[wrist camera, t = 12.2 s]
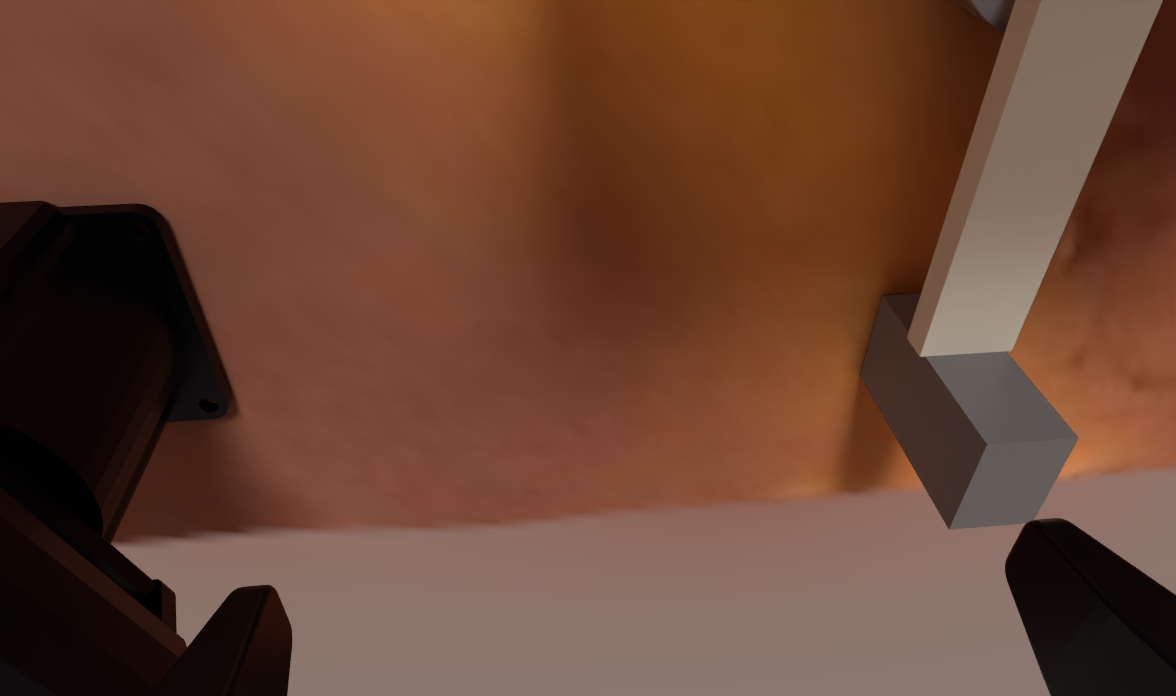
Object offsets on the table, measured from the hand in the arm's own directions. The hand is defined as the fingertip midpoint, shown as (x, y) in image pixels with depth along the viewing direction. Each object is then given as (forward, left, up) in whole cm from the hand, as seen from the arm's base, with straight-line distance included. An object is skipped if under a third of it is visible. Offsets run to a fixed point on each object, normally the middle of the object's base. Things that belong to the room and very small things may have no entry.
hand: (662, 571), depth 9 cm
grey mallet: (0, -10, -12) cm, 16 cm away
